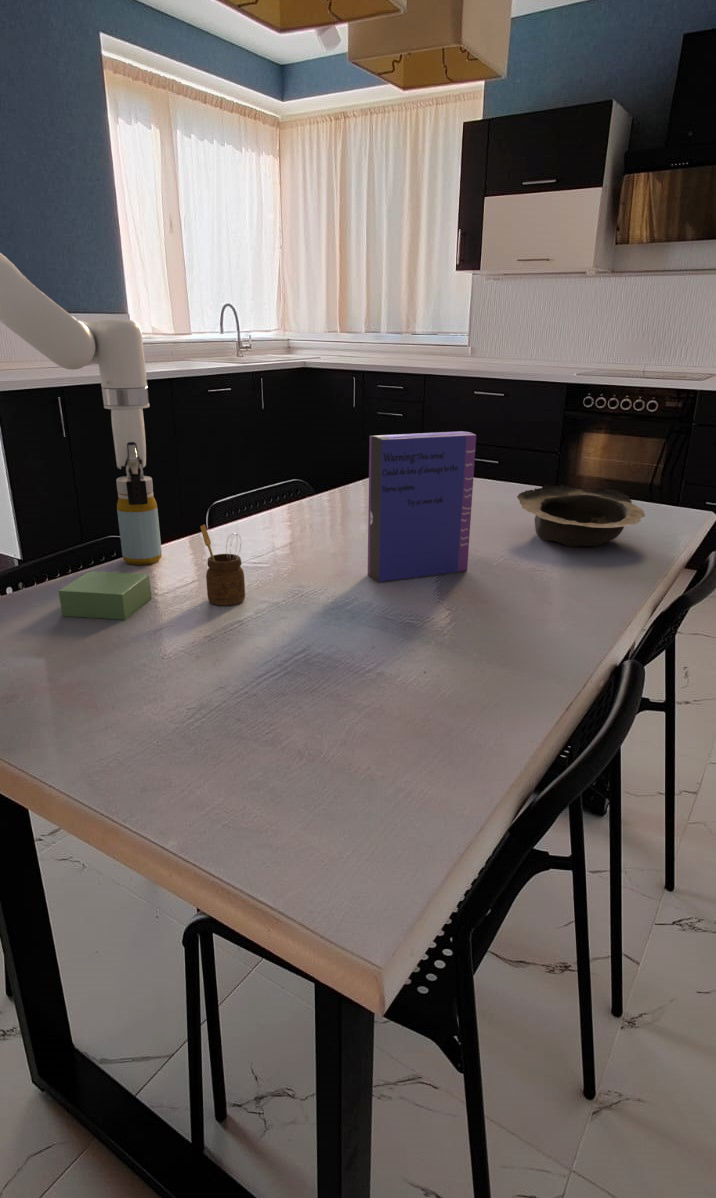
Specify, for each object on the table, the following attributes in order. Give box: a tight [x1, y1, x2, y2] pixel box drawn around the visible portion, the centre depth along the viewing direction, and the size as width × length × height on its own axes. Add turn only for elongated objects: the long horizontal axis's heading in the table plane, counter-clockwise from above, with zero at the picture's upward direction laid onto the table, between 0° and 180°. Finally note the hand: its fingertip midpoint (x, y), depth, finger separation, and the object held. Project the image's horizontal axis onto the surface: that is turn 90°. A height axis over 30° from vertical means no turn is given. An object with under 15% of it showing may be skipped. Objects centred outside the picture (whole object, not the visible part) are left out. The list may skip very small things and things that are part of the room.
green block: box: [58, 570, 152, 621], centre depth 118 cm, size 10×10×4 cm
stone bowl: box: [516, 483, 646, 548], centre depth 158 cm, size 25×25×9 cm
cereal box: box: [367, 430, 477, 584], centre depth 132 cm, size 17×5×24 cm, turn 113°
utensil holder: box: [199, 524, 246, 607], centre depth 120 cm, size 6×6×12 cm
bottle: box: [115, 475, 163, 566], centre depth 140 cm, size 7×7×15 cm
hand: (137, 498), depth 138 cm, fingers open, 9 cm apart
